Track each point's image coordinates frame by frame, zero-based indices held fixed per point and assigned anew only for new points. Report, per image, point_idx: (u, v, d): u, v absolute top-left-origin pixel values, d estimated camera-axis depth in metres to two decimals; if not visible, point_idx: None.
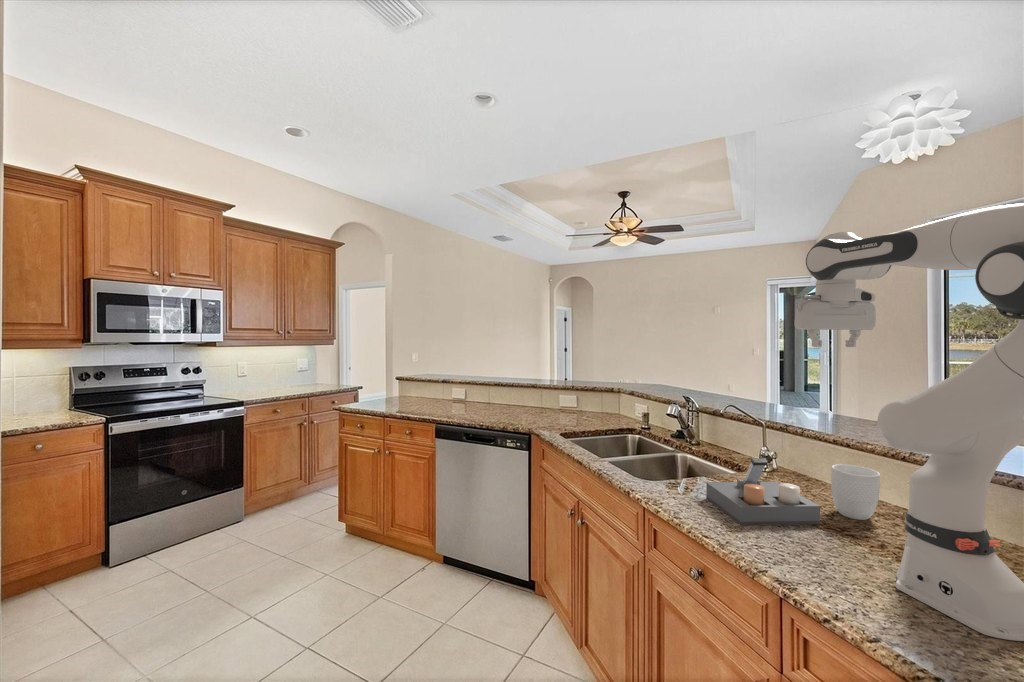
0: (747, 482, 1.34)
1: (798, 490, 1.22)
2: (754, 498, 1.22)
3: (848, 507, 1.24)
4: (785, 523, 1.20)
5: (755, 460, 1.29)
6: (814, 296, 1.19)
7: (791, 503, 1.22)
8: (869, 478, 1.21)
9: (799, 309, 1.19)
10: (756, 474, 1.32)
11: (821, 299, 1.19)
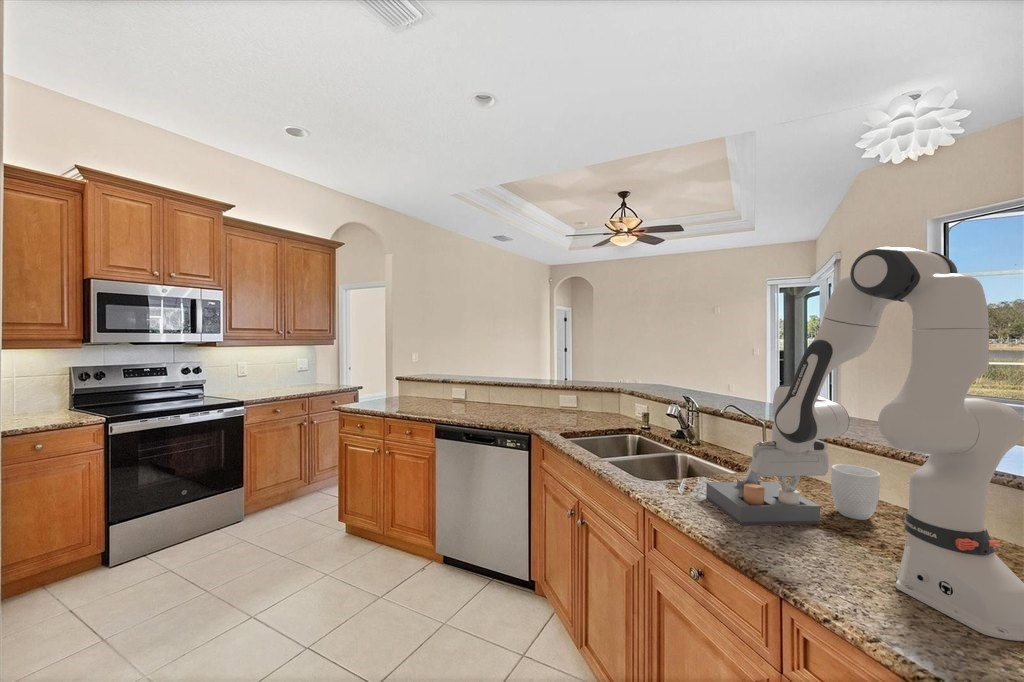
0: (747, 482, 1.34)
1: (798, 495, 1.22)
2: (754, 498, 1.22)
3: (848, 507, 1.24)
4: (785, 523, 1.20)
5: None
6: (769, 443, 1.23)
7: None
8: (869, 478, 1.21)
9: (755, 455, 1.23)
10: None
11: (776, 446, 1.23)
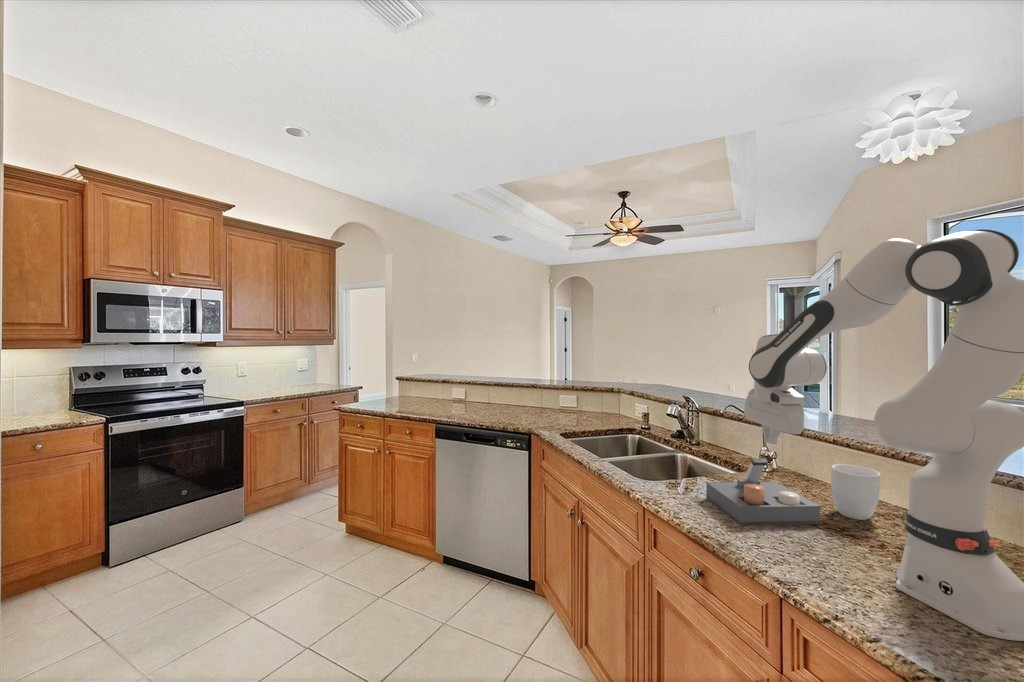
0: (747, 482, 1.34)
1: (798, 498, 1.22)
2: (754, 498, 1.22)
3: (848, 507, 1.24)
4: (785, 523, 1.20)
5: (755, 460, 1.29)
6: None
7: None
8: (869, 478, 1.21)
9: None
10: (756, 474, 1.32)
11: None
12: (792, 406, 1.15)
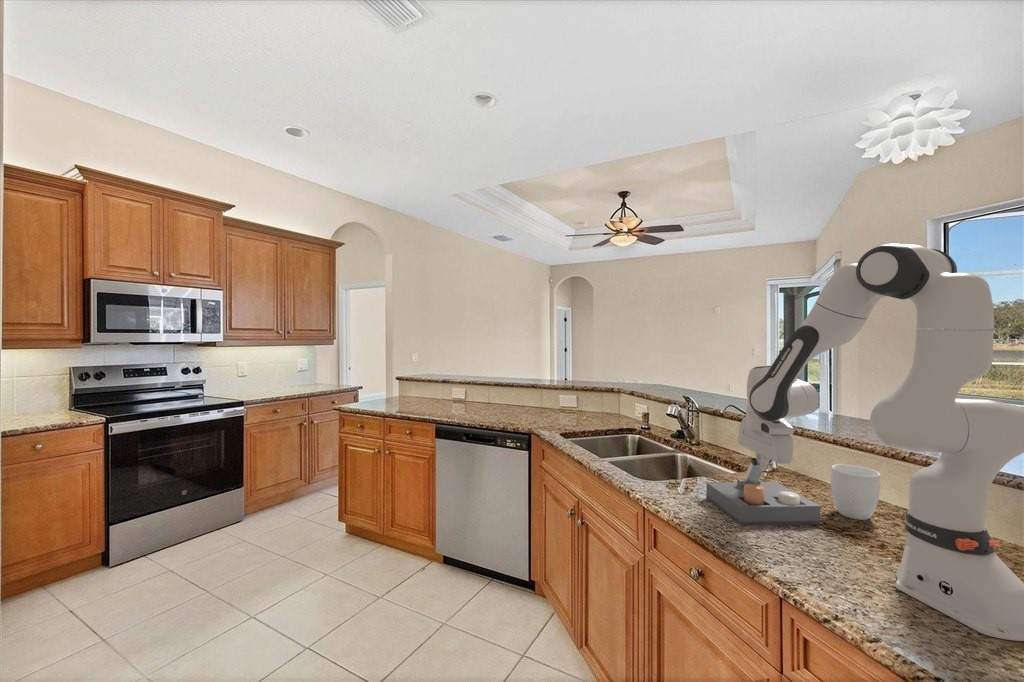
0: (747, 482, 1.34)
1: (798, 498, 1.22)
2: (754, 498, 1.22)
3: (848, 507, 1.24)
4: (785, 523, 1.20)
5: (755, 460, 1.30)
6: None
7: None
8: (869, 478, 1.21)
9: None
10: (756, 474, 1.32)
11: None
12: (781, 436, 1.19)
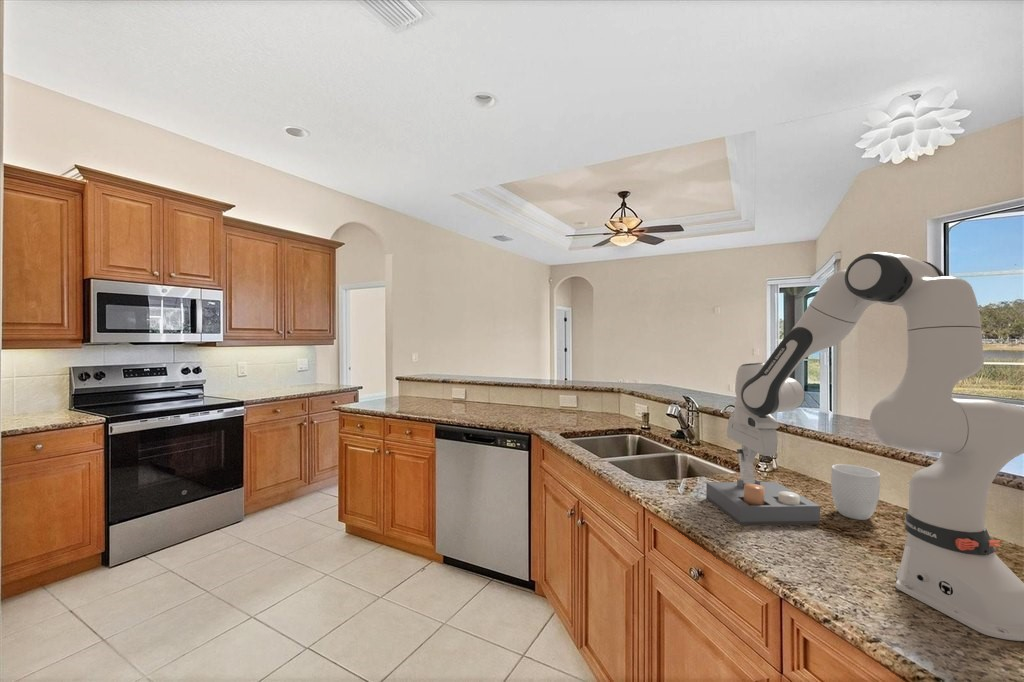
0: (745, 478, 1.35)
1: (798, 498, 1.22)
2: (754, 498, 1.22)
3: (848, 507, 1.24)
4: (785, 523, 1.20)
5: (740, 449, 1.37)
6: None
7: None
8: (869, 478, 1.21)
9: None
10: (749, 467, 1.36)
11: None
12: (767, 430, 1.26)
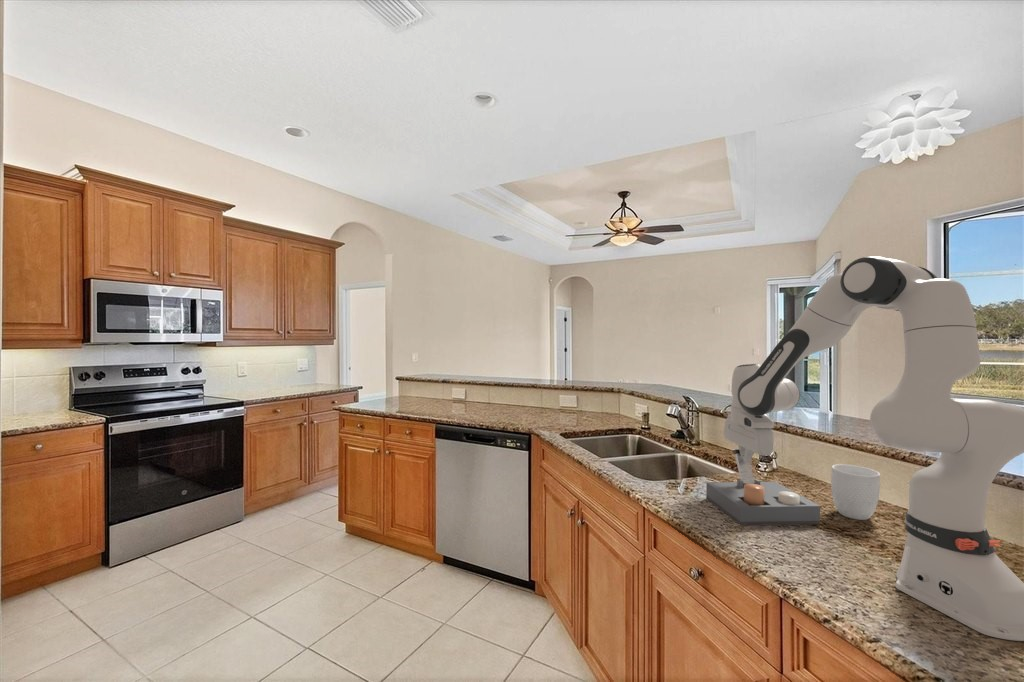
0: (744, 478, 1.35)
1: (798, 498, 1.22)
2: (754, 498, 1.22)
3: (848, 507, 1.24)
4: (785, 523, 1.20)
5: None
6: None
7: None
8: (869, 478, 1.21)
9: None
10: (746, 466, 1.37)
11: None
12: (763, 430, 1.27)
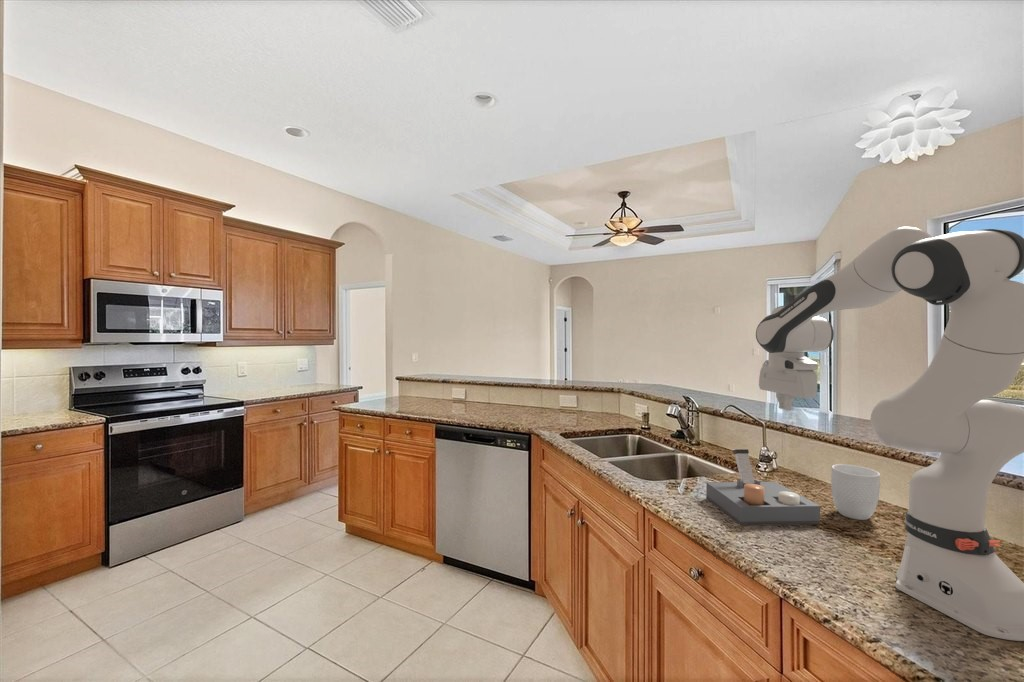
0: (744, 478, 1.35)
1: (798, 498, 1.22)
2: (754, 498, 1.22)
3: (848, 507, 1.24)
4: (785, 523, 1.20)
5: None
6: None
7: None
8: (869, 478, 1.21)
9: None
10: (746, 466, 1.37)
11: None
12: (806, 372, 1.21)
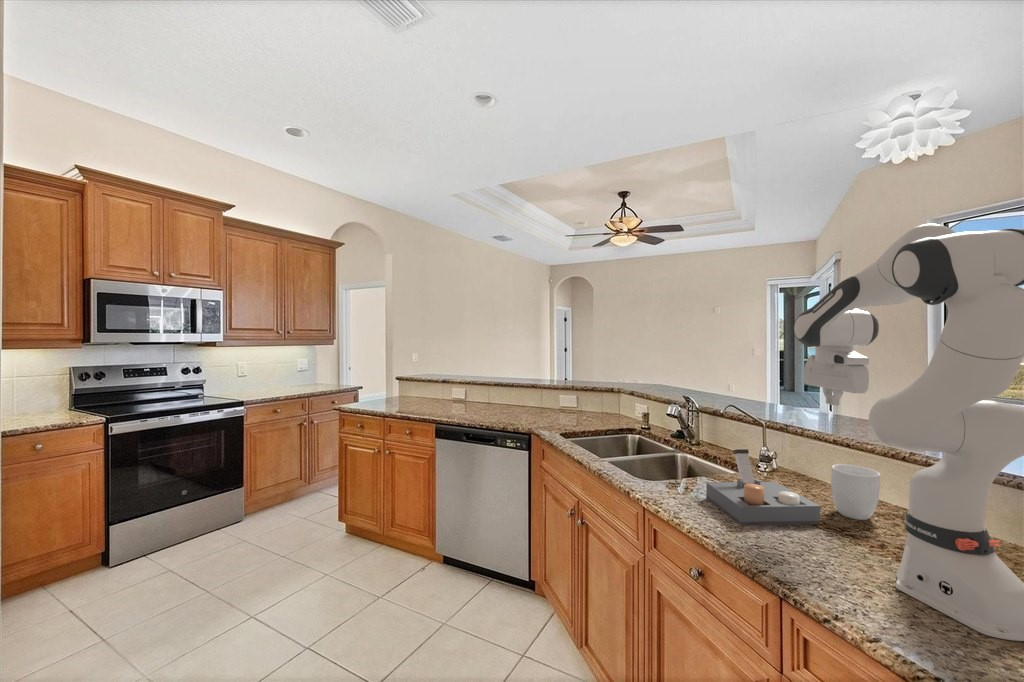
0: (744, 478, 1.35)
1: (798, 498, 1.22)
2: (754, 498, 1.22)
3: (848, 507, 1.24)
4: (785, 523, 1.20)
5: None
6: None
7: None
8: (869, 478, 1.21)
9: None
10: (746, 466, 1.37)
11: None
12: (857, 366, 1.19)
